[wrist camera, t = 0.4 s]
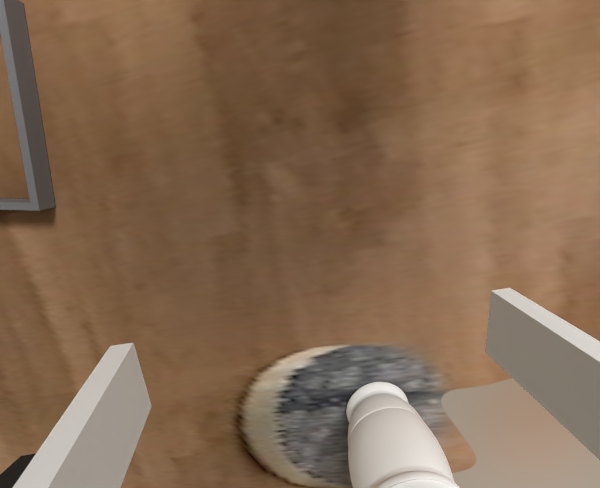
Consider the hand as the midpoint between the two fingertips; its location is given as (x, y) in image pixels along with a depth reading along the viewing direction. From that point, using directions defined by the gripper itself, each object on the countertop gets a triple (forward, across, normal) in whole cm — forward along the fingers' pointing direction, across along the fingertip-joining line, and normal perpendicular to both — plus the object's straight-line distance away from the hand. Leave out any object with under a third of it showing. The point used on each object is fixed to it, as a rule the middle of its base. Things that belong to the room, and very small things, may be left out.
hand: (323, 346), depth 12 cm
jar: (+25, +10, -28) cm, 39 cm away
